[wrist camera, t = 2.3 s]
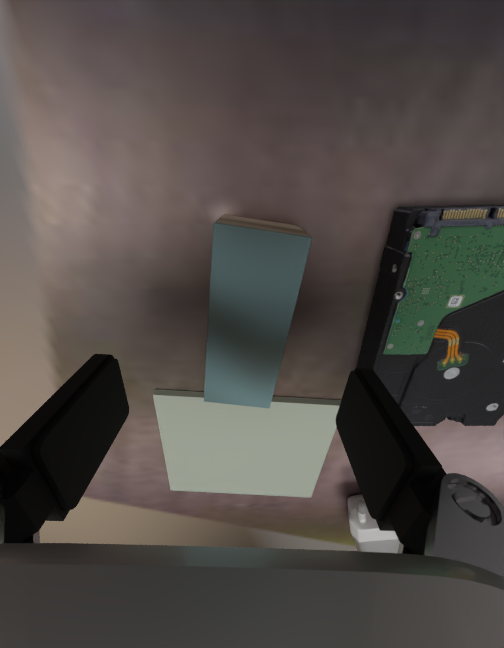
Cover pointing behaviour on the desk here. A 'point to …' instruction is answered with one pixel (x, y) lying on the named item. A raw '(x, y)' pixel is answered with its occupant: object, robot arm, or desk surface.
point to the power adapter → (368, 529)
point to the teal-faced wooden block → (251, 306)
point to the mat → (244, 443)
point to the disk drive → (441, 314)
